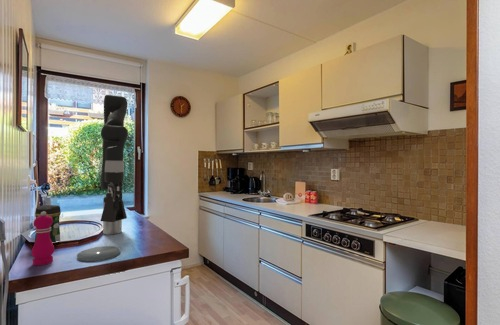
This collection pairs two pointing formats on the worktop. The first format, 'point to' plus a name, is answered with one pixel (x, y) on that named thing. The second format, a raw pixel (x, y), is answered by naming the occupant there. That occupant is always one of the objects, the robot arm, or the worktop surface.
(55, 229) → the coffee jar
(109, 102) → the robot arm
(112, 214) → the door stopper
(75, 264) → the worktop surface
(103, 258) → the dish
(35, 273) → the worktop surface
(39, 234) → the pepper mill
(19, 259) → the worktop surface
